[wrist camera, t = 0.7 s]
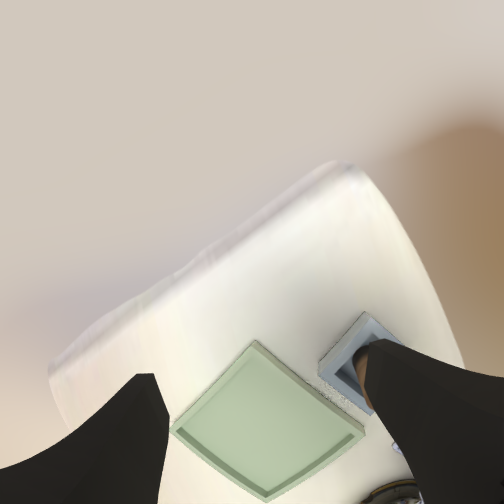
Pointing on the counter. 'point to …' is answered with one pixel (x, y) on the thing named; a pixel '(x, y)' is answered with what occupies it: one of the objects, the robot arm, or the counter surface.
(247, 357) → the tray
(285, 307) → the counter surface
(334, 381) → the blue-grey square socket
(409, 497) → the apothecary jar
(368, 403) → the dowel
